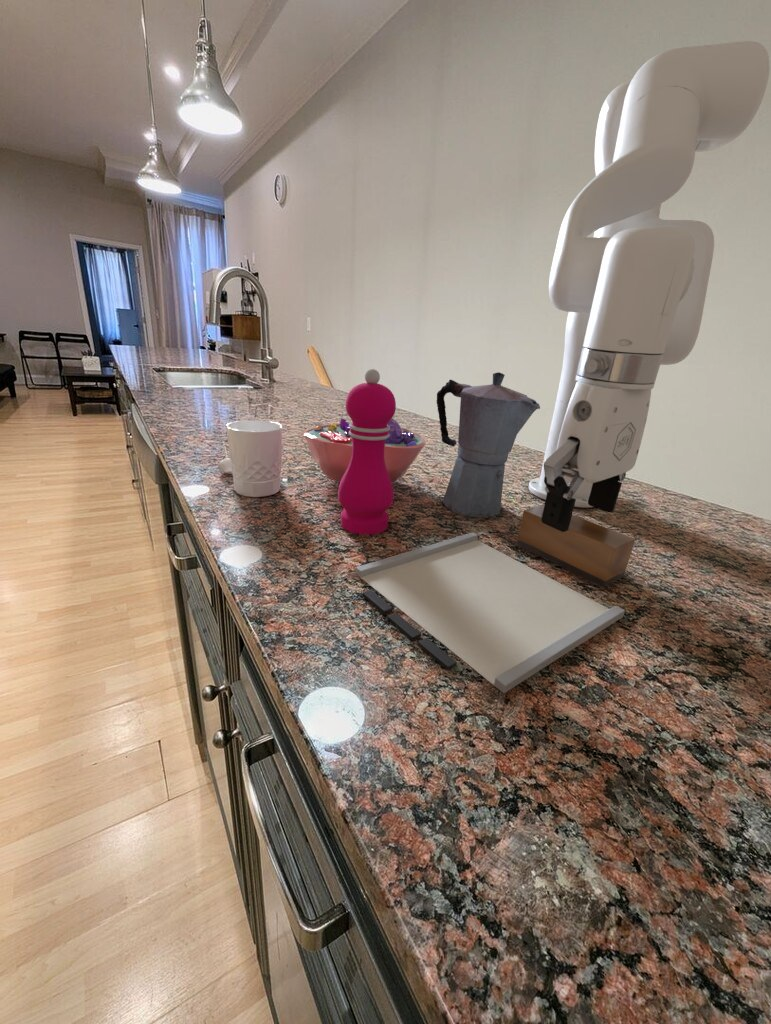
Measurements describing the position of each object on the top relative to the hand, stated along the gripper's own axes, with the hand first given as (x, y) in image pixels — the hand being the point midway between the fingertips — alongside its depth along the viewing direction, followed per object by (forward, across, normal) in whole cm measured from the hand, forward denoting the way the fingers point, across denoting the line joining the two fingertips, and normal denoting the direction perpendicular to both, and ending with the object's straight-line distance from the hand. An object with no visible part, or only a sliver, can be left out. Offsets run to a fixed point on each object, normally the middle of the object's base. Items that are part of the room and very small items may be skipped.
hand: (578, 517), depth 54 cm
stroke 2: (+4, -27, -1) cm, 28 cm away
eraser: (+5, -2, -1) cm, 6 cm away
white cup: (+5, -25, +38) cm, 46 cm away
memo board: (+4, -17, -1) cm, 17 cm away
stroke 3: (+4, -27, -5) cm, 28 cm away
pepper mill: (+5, -18, +19) cm, 27 cm away
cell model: (+6, -8, +34) cm, 36 cm away
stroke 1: (+4, -27, +3) cm, 28 cm away
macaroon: (+6, -26, +47) cm, 54 cm away
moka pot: (+6, 0, +17) cm, 18 cm away
